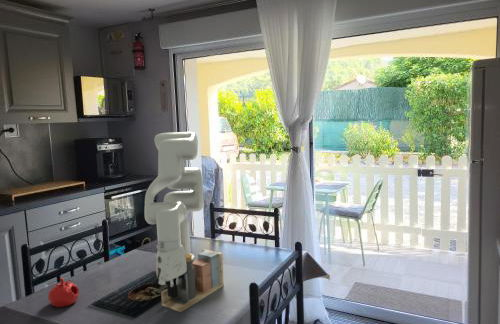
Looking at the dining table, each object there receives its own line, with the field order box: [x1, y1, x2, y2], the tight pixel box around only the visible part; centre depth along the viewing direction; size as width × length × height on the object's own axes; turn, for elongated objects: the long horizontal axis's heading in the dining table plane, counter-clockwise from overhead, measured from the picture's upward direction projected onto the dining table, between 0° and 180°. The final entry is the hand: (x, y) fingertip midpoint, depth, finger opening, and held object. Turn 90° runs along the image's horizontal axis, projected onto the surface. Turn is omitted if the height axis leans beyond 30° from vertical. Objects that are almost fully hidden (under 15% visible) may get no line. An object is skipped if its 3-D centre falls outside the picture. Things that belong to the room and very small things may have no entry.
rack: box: [160, 248, 225, 313], centre depth 137 cm, size 9×23×13 cm, turn 146°
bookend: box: [170, 273, 189, 304], centre depth 131 cm, size 6×2×10 cm, turn 56°
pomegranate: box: [47, 277, 80, 308], centre depth 135 cm, size 10×10×9 cm
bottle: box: [185, 253, 196, 300], centre depth 134 cm, size 6×6×15 cm
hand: (172, 296), depth 129 cm, fingers closed
